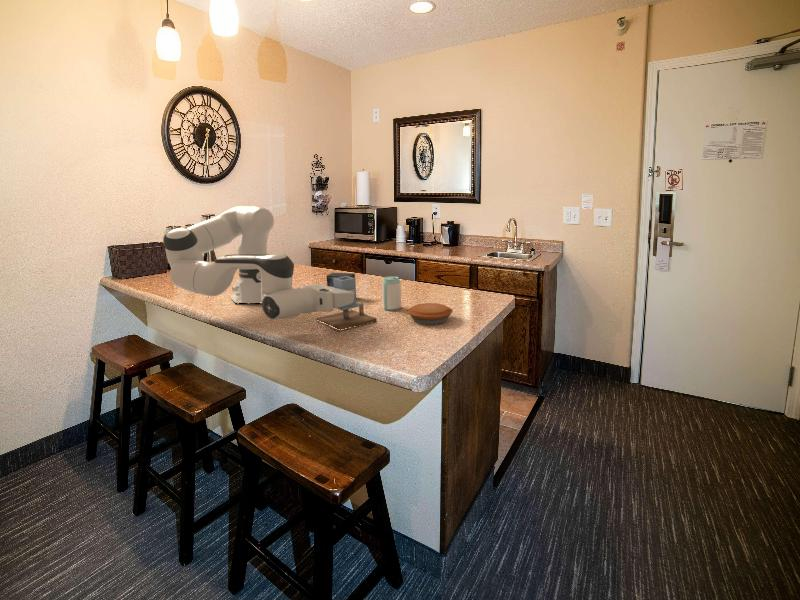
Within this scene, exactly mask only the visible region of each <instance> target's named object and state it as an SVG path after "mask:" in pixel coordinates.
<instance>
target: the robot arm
mask: <svg viewBox="0 0 800 600" xmlns="http://www.w3.org/2000/svg"><path fill="white" fill-rule="evenodd" d="M274 219H275V218H274V215H273V213H272V212H271V211H270V210H269V209H267V208H265V207H262V206H259V205H237V206H234V207H231V208H230V209H227V210H226V211H224V212H222V213H220V214H219V215H216V216H214V217H211V218H209V219H206V220H204V221H201V222H197V223H195V224H193V225H190V226H187V228H186V227H175V228H173V229H169V230H168V231H166V232H165V234H164V236H163V241H162V242H163V243H162V244H163V248H164V249H165V256H166V259H167V263H168V264H169V267H170V271H169V277H170V281H171V282H172V284H173V285H175V286H176V287H178V288H180V289H183V290H185V291H188V292H190V293H193V294H198V295H203V296H206V297H207V296H208V297H217V296H219V295H222V294H223V293H225V292H226V291H227V290H229V289H228V288H229V287H230V286H231V284H232V282H233V280H234V278H235V277H234V276H235V274H236V272H237V270H238V276H239V277H238V279H237V280H236V281H235V283H234V286H232V287H231V289H232V290H231V291H232V293H233V294H230V295H229V298H230V300H231V301H232V300H233V301H234V302H235V303H260V302H262V303H260V304H261V305H262V310H263V313H264V314H265V316H266V317H268V318H269V319H271V320H283V319H290V318H294V317H295V318H296V317H299V316H300V315H301V314H312V313H316V312H327V313H328V312H333V311H334V309H337V308H340V307H343V306H346V305H349V304H352V303H353V302H354V294H355V290H353V289H349V290H348V291H347V290H342V289H338V288H334V287H329V286H327V285H326V284H325V285H324V284H320V283H319V284H318V283H311V284H307V285H306V284H305V285H302V286H299V287H297V288H293V276H294V270H295V263H294V262H293V261H292V259H291V258H290V257H289V256H288V255H287V254H283V253H268V250H267V249H268V246H267V245H268V239H269V235H270V232H271V230H272V229H273V227H274V224H275V220H274ZM239 236H242V237H241V243H240V245H239V247H238V249H237V250H238V251H237V252H238V254H224V255H221V256H218V257H216V258H215V260H214V261H205V260H204V256H203V254H207V253H209V252H212V251H214V250H217V249H218V248H222V247H225V246H226V245H229V244H230V243H232V241H234V240H235V239H237V238H238V237H239ZM233 301H232V302H233ZM234 302H233V303H234ZM235 303H234V304H235Z"/></svg>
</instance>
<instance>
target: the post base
mask: <svg viewBox="0 0 800 600" xmlns="http://www.w3.org/2000/svg"><path fill="white" fill-rule="evenodd" d="M358 303H359V302H358ZM359 304H361V306H360V307H358V311H356V310H353V309H351V310H350V309H347V310H342V312H338V313H333V314H329V315H328V314H327V315H325V316H321V317H320V316H319V317H316V321H317V320H319V321H321V322H324V323H326V324H328V325H331V326H333V327H335V328H337V329H340V330H341V329H345V328H349V327H354V326H358V327H360V326H359V325H362V326H364V325H363V324H366V325H368V324H367V323H370V324H372V323H371V322H373V323H376V321H377V320H378V319H377V317H374V316H371V315H368V314H366V313H364V311H365V309H364V307H365V306H364V303H362V302H360V303H359ZM377 322H378V321H377ZM354 328H355V327H354Z"/></svg>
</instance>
